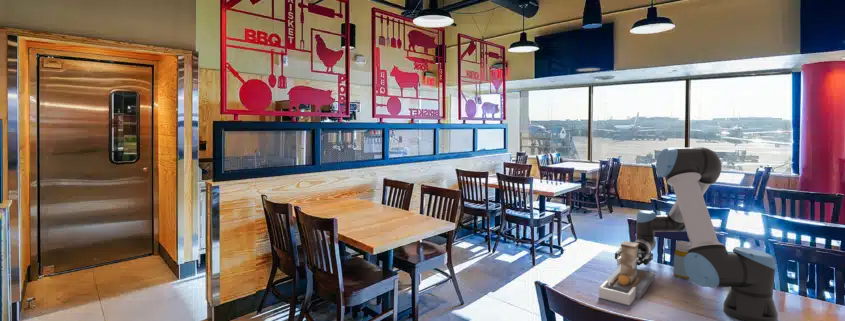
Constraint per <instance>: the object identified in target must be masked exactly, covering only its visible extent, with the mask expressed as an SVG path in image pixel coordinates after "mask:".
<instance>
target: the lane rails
mask: <svg viewBox="0 0 845 321" xmlns="http://www.w3.org/2000/svg"><path fill="white" fill-rule="evenodd" d="M619 274H620V273H619ZM619 274H618V275H617V276H616V277H615V278H614V279H613V280H612V281H611V282H610V286H612V285H613V284H614V283H615V282H616V281H617V280H618V276H619ZM644 275H645V272H642V273H641V274H640V276H639V277H638V278H637V279H636V280H635V282H634V283H633V284H632V285H631V287H630V290H631V289H632V287H635V286H636V285H637V284H638V283H639V281H640V280H641V279H642V277H643V276H644Z"/></svg>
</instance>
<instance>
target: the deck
mask: <svg viewBox="0 0 845 321" xmlns="http://www.w3.org/2000/svg"><path fill="white" fill-rule="evenodd" d="M620 272H621V265H619V266H618V267H617V268H616V269H615V270H614V271H613V272H612V273H611V274H610V275H609V276H608V277H607V278H606V279H605V280H604V281H603V282H602V283H601V285H602V284H603V283H604V282H605V281H609V284H608V289H612V290H616V291H620V292H624V293H628V292H629V291H630V287H631V285H632V284H633V283H634V282H635V281H634V282H633V283H632V284H627V285H621V284H620V283H619V282H618V280H617V281H616V282H615V283H614V284H613V285H612V286H610V282H611V281H612V280H613V279H614V278H615V277H616V276H617V275H618V274H619V273H620ZM642 272H645V275H644V276H643V277H642V279H641V280H640V281H639V283H638V284H637V285H636V286H635V287H636V295H635V297H636V298H635V299H638V300H639V299H640V300H641V298H642V297H643V296H644V294H645V293H646V291H647V290H648V288H649V287H650V286H651V284H652V283H653V282H654V280H655V279H656V278H655V276H656V275H655V274H656V273H655V272H654V271H653V272H652V271H649V270H648V271H647V270H642V269H639V268H637V276H636V279H637V278H638V277H639V276H640V274H641V273H642Z"/></svg>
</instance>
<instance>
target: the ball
mask: <svg viewBox="0 0 845 321" xmlns="http://www.w3.org/2000/svg"><path fill="white" fill-rule="evenodd" d="M618 282H619V283H620V284H621V285H627V284H628V283H629V279H628V277H627V276H625V275H621V276H619V278H618Z"/></svg>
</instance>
